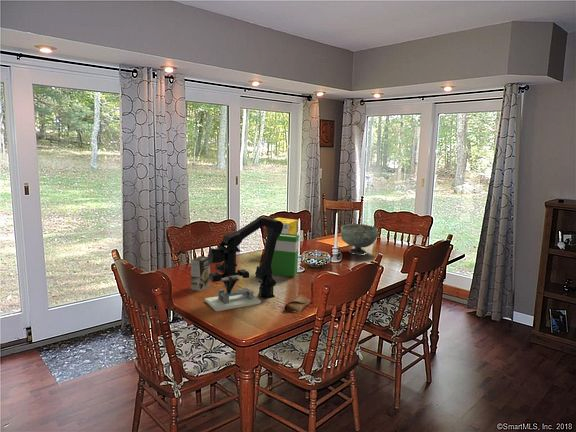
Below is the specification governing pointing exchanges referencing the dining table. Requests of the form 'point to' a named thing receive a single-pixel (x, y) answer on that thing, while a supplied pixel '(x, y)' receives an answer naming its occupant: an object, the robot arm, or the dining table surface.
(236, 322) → the dining table surface
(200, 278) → the coffee box
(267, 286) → the robot arm
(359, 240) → the decorative bowl
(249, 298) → the base
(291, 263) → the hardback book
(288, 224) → the packaging box
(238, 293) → the bar
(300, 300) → the sunglasses case
